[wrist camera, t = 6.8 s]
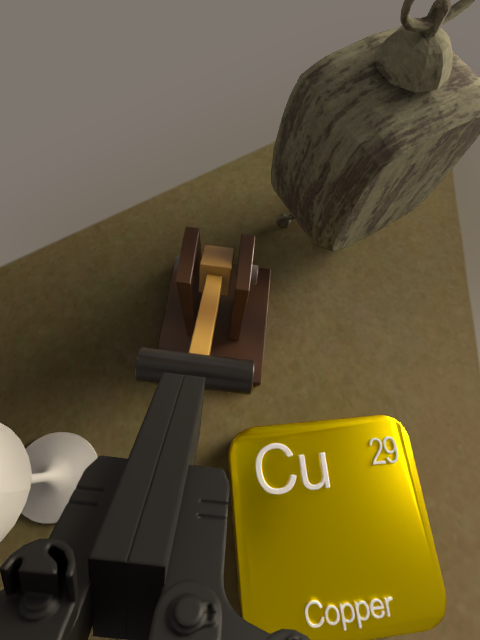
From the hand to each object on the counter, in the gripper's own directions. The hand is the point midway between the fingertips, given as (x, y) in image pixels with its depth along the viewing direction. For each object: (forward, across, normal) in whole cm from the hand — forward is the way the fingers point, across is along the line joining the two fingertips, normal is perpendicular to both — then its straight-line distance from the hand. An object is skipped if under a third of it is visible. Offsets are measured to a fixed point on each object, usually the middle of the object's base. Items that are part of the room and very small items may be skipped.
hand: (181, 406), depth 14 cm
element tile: (+12, +11, -19) cm, 25 cm away
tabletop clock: (+33, +12, +2) cm, 35 cm away
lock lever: (+11, 0, -2) cm, 11 cm away
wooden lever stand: (+23, 0, -7) cm, 24 cm away
